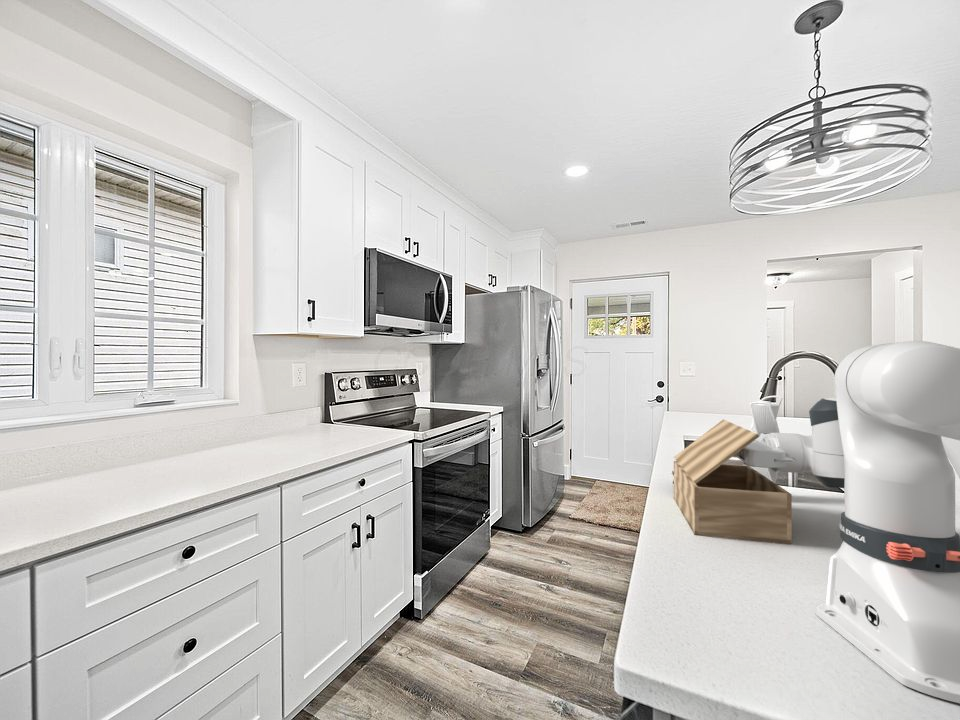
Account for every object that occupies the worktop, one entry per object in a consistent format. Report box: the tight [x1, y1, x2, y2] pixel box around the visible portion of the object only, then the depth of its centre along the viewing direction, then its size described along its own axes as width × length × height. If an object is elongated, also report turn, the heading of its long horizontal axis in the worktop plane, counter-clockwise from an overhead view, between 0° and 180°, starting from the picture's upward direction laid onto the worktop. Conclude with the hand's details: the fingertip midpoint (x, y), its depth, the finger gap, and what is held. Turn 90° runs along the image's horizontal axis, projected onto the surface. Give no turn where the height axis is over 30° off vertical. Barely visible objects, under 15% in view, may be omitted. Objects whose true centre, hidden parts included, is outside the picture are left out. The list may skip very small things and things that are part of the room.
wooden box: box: [673, 460, 793, 545], centre depth 103 cm, size 26×18×10 cm
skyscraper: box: [742, 395, 784, 484], centre depth 119 cm, size 8×8×28 cm
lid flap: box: [673, 419, 760, 484], centre depth 104 cm, size 25×16×1 cm
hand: (714, 448), depth 105 cm, fingers closed, pressing on lid flap
